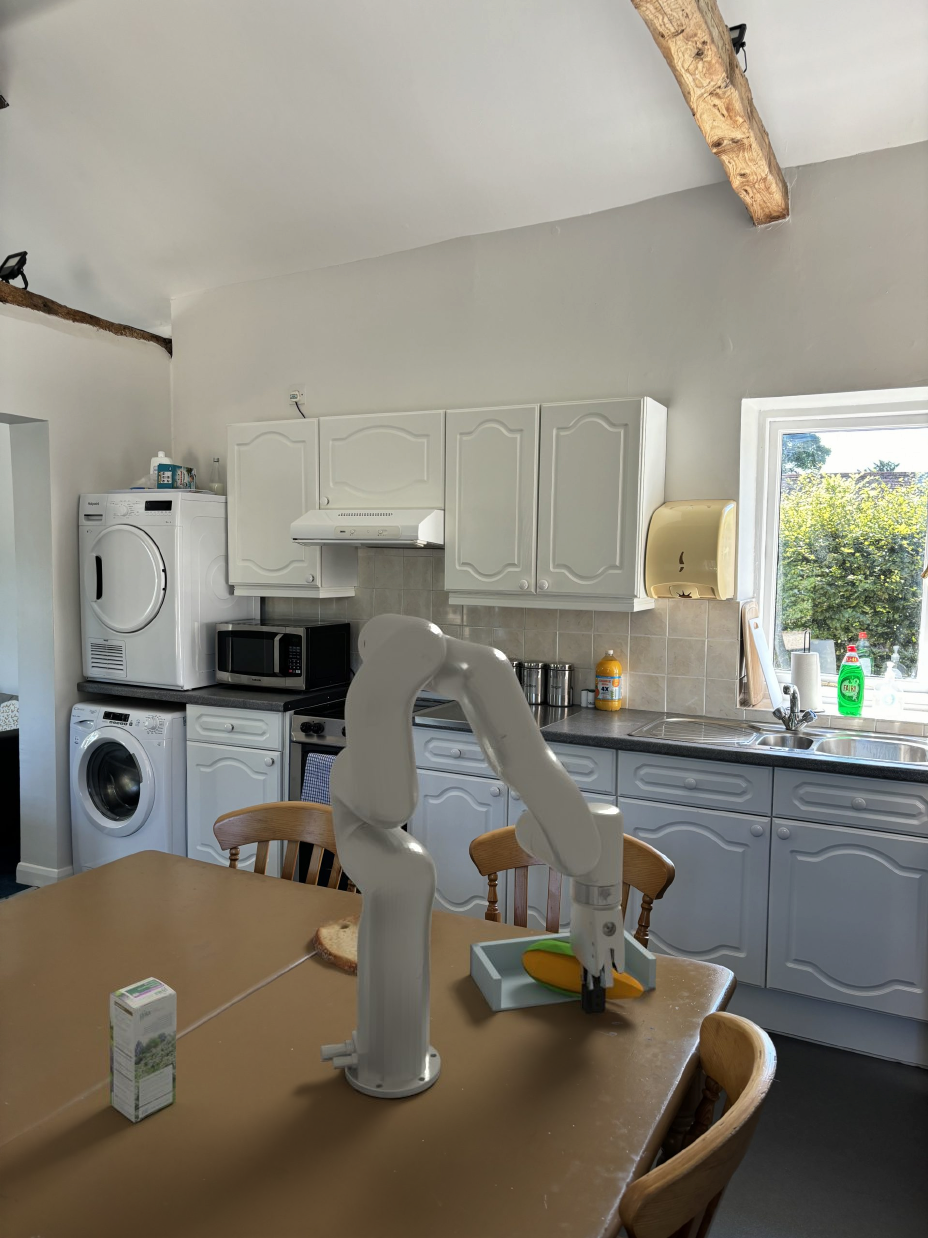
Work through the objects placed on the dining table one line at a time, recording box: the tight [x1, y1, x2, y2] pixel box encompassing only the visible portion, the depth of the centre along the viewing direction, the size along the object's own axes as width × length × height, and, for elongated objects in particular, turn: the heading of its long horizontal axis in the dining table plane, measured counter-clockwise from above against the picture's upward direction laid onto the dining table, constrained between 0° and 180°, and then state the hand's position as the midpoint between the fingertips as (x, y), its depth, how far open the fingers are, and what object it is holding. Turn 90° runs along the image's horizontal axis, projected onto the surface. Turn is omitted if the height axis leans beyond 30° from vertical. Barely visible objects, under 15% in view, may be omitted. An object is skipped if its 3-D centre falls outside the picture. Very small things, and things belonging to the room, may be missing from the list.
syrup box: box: [109, 976, 177, 1124], centre depth 106 cm, size 6×6×14 cm
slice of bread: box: [312, 914, 361, 974], centre depth 149 cm, size 18×18×4 cm
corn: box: [522, 939, 644, 1001], centre depth 134 cm, size 7×8×20 cm
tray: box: [469, 929, 657, 1013], centre depth 139 cm, size 27×12×5 cm, turn 106°
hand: (593, 1011), depth 127 cm, fingers closed
